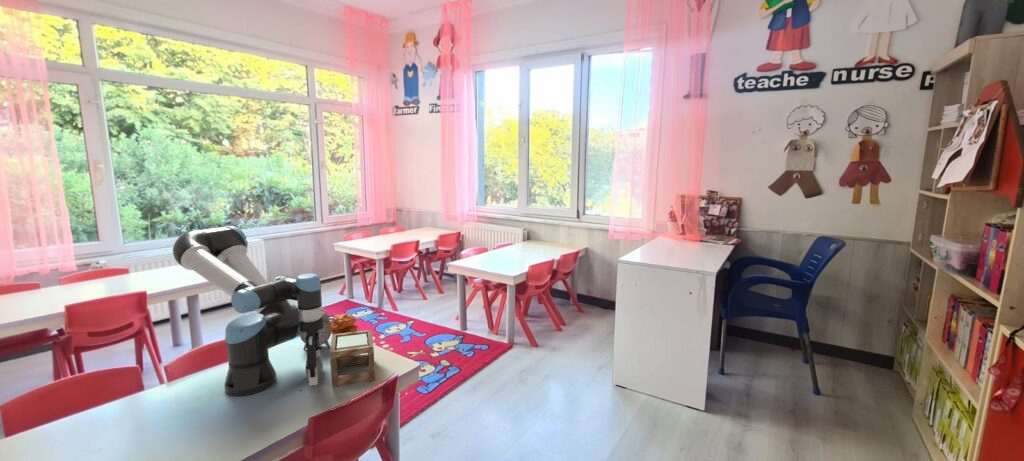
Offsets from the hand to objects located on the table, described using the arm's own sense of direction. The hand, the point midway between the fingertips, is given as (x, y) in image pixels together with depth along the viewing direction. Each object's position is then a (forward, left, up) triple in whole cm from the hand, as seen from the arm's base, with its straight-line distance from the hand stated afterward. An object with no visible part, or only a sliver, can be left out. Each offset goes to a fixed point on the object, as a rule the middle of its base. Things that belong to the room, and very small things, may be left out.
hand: (315, 375), depth 152 cm
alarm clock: (-1, +26, 0) cm, 26 cm away
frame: (+13, -2, 0) cm, 13 cm away
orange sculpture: (+10, +13, 0) cm, 16 cm away
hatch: (+13, -1, +11) cm, 17 cm away
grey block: (0, 0, 0) cm, 0 cm away
